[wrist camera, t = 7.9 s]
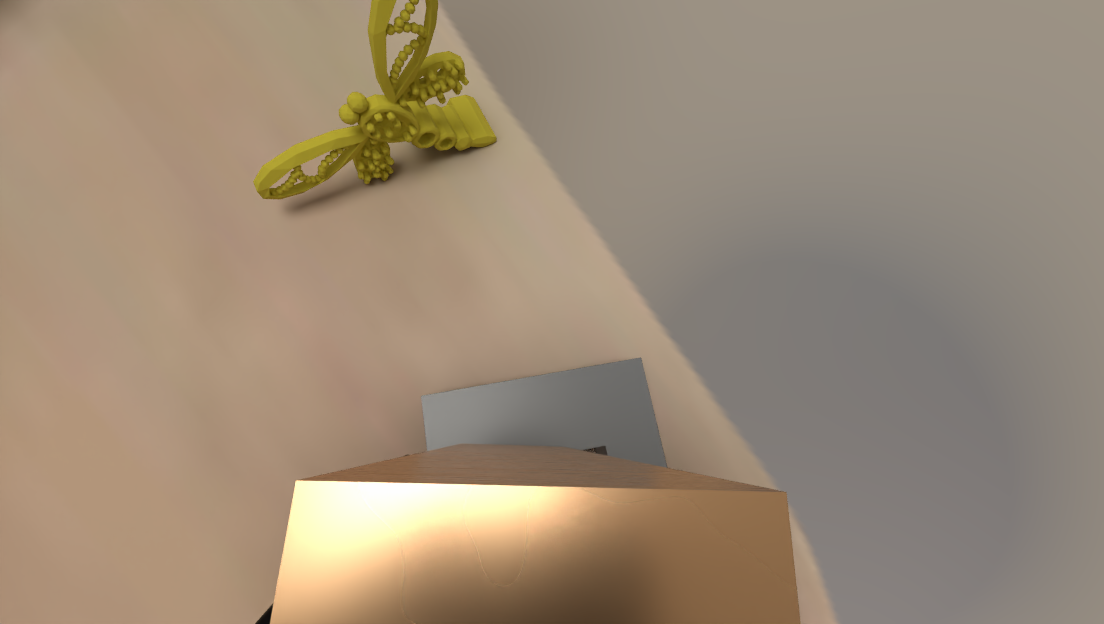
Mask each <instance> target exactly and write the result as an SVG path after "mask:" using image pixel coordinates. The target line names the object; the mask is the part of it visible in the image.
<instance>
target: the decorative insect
mask: <svg viewBox="0 0 1104 624" xmlns="http://www.w3.org/2000/svg"><path fill="white" fill-rule="evenodd" d="M409 1H410V2H411V3H406V4H405V10H402V11H401V12H400V17H396V18H395V20H394V22H395V23H394V26H393V25H392V24H388V22H389V20H390V17H391V14H392V11H393V8H394V5H395V2H396V0H372V2H371V10H370V18H369V25H368V35H369V41H370V46H371V52H372V58H373V63H374V69H375V74H376V78H377V81H378V83H379V85H380V87H381V89H382V91H383V93H384V94H385V95H376V94H375V95H373V96H371V97H368V98H366V97H365V96H364V95H362V94H361V93H358V92H352V93H351V94H350V95H349V96H348V98H347V104H344V105H343V106H342V107H341V108H340V109H339V116H340V118H341V120H342V121H343V122H345V123H346V124H350V125H353V124H355V123H357V122H358V125H357V126H352V127H347V128H342V129H338V130H333V131H330V132H328V133H325V134H322V135H320V136H317V137H314V138H312V139H309V140H306V141H304V142H301V143H298V144H296V145H294V146H292V147H291V148H289V149H288V150H286V151H285V152H283V153H281V154H280V155H278V156H277V157H275V158H274V159H272V160H271V161H269V162H268V163H266V164H265V165H263V166H262V168H261V169H260V171H259V173H258V174H257V176H256V178H255V179H254V181H253V182H254V185H255V187H256V190H257V192H258V193H259V194H260V196H261V197H262V198H263V199H283V198H286V197H290V196H293V195H297V194H300V193H303V192H305V191H307V190H309V189H311V188H313V187H315V186H317V185H318V184H320V183H322V182H324V181H326V180H328V179H329V178H330V177H331V176H333V175H334V174H335V173H336V172H337V171H339V170H340V169H341V168H342V167H343V166H344V165H346V164H347V163H348V162H349V161H350V160H352V159H353V161H354V164H355V167H356V169H357V172H358V178H359V179H364V183H365V184H369V183H370V181H371V178H380V177H381V179H382V180H383V181H386V180H387V177H388V176H389V174H392V173H393V170H392V168H391V167H390V166H389V165H393V164H394V160H393V159H392V158H391V157H390V147H389V145H388V143H395V142H403V141H406V142H412V144H413V145H415V146H416V147H418V148H428V147H431V146H433V145H434V147H435V148H436V149H437V150H448V149H450V148H451V147H453V146H455V148H456V149H458V150H459V151H461V150H464V149H467V148H469V147H470V146H471V147H485V146H488V145H490V144H492V143H494V142H496V136H495V134H494V133H493V131H492V129H491V127H490V125H489V124H488V122H487V120H486V118H485V117H484V115H483V113H482V111H481V110H480V108H479V106H478V104H477V103H476V101H475V99H474V98H473V97H470V96H467V95H463V96H459V97H454V98H450V99H449V101H448V103H447V105H446V106H444V107H442V108H441V107H439V106H437V105H435V104H432V105H427V106H425V102H426V101H427V100H428V99H430V98H432V97H435V96H437V98H438V100H439V102H440V103H442V104H443V103H445V102H446V99H445V97H444V95H443V93H445V92H448V91H450V90H451V89H453V91H454V92H455V93H456V94H460V92H461V90H462V85H461V84H460V82H459V80H460V81H461V82H462V83H463V84H464V85H467V84H468V83H469V81H468V80H467V78H466V77H465V76H464V75H465V68H464V62H463V60H462V59H461V57H460V56H458V55H456V54H454V53H452V52H450V51H447V52H441V53H435V54H432V55H430V56H428V57H426V55H427V53H428V50H429V46H430V43H431V40H432V36H433V33H434V30H435V26H436V20H437V10H438V0H425V1H426V14H425V21H424V27H423V26H422V25H418V24H416V23H415V22H413V23H409V22H408V21H409V20H410V14H413V13H414V11H415V6H414V5H417V4H418V2H419V0H409ZM403 20H404V21H406V22H404V21H403ZM403 31H404V32H407V33H408V32H410V31H411V32H412V33H415V34H416V33H417V34H418V35H419V36H418V37H417V40H415V39H414V40H411V42H410V45H405V46H404V51H400V52H399V54H398V56H399V57H397V58H396V59H395V64H393V65H392V69H393V70H391V72H390V75H391V76H388V74H387V60H386V36H387V34H389V35H393V34H394V33H395V32H397V33H399V34H400V33H402V32H403ZM412 48H413V49H414V50H415V51H414V54H413V56H412V58H411V60H410V61H409V63H408V64H407V66H406V67H405V69H404V70H403V72H402V73H401V75H400V77H399V73H400V72H401V67H403V65H404V61H406V60H407V59H408V55H411V54H412V52H413V49H412ZM425 57H426V58H425ZM440 68H441V69H440ZM438 69H440V70H439V71H438V72H437V70H438ZM422 76H424V78H421V77H422ZM398 77H399V78H398ZM397 78H398V79H397ZM420 78H421V79H420ZM387 142H388V143H387ZM343 149H345V150H343ZM331 150H333V151H331ZM329 151H331V152H330V155H327V156H326V157H325V160H322V161H321V165H319V166H318V175H315V176H310V177H309V176H308V175H307V176H306V175H305V174H303V171H302V170H301V164H303V163H305V162H307V161H309V160H312V159H314V158H316V157H318V156H320V155H322V154H324V153H326V152H329ZM338 154H341V155H340V156H339V157H338ZM337 157H338V158H337ZM333 158H337V160H336V161H334V162H333ZM332 162H333V163H332ZM329 163H332V164H331V165H329ZM292 168H293V169H294V171H292V172H291V174H290V175H291V176H290V177H289V178H288V180H287V181H285V183H283V184H281V186H278V187H277V188H270V187H271V186H272V185H273V184H274V183H276V182H277V181H278V180H279V179H280V178H282V177H283V176H284V175H285V174H286V173H288V172H289V171H290V170H291V169H292ZM387 172H388V173H389V174H388V173H387ZM297 178H298V179H299V180H301V181H303V182H301V183H298V184H296V185H294V183H296V182H297Z"/></svg>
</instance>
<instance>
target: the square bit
mask: <svg viewBox="0 0 1104 624" xmlns="http://www.w3.org/2000/svg"><path fill="white" fill-rule="evenodd" d="M270 624H801V623H800V614H799V605H798V596H797V586H796V577H795V568H794V559H793V549H792V540H791V531H790V521H789V512H788V503H787V494H786V492H783V491H778V490H773V489H768V488H764V487H759V486H754V485H749V484H744V483H739V482H734V481H729V480H724V479H719V478H715V477H710V476H705V475H700V474H695V473H690V472H685V471H680V470H675V469H670V468H665V467H661V466H656V465H651V464H646V463H641V462H636V461H631V460H626V459H621V458H616V457H611V456H607V455H602V454H597V453H592V452H587V451H582V450H577V449H572V448H567V447H556V446H526V445H495V444H465V443H461V444H457V445H453V446H448V447H444V448H439V449H435V450H430V451H426V452H421V453H417V454H412V455H408V456H403V457H399V458H395V459H390V460H386V461H381V462H377V463H372V464H368V465H363V466H359V467H354V468H350V469H346V470H341V471H337V472H332V473H328V474H323V475H319V476H314V477H310V478H305V479H301V480H296V485H295V490H294V495H293V501H292V506H291V512H290V517H289V523H288V528H287V533H286V539H285V544H284V550H283V555H282V561H281V566H280V571H279V577H278V582H277V588H276V593H275V599H274V604H273V609H272V615H271V620H270Z"/></svg>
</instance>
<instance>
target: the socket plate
mask: <svg viewBox="0 0 1104 624" xmlns="http://www.w3.org/2000/svg"><path fill="white" fill-rule="evenodd" d="M421 399H422V408H423V417H424V426H425V435H426V445H427V451H430V450H435V449H439V448H444V447H448V446H453V445H457V444H461V443H465V444H495V445H526V446H556V447H567V448H572V449H577V450H586V449H591V448H595V451H596V453H597V454H602V455H607V456H611V457H616V458H621V459H626V460H631V461H636V462H641V463H646V464H651V465H656V466H661V467H665V468H667V465H666V461H665V456H664V452H663V448H662V444H661V440H660V435H659V431H658V427H657V423H656V418H655V414H654V410H653V406H652V402H651V397H650V393H649V389H648V385H647V381H646V376H645V372H644V368H643V364H642V360H641V358H636V359H630V360H624V361H619V362H613V363H607V364H602V365H596V366H590V367H584V368H579V369H573V370H567V371H561V372H556V373H550V374H544V375H539V376H533V377H527V378H521V379H516V380H510V381H504V382H498V383H493V384H487V385H481V386H475V387H470V388H464V389H458V390H453V391H447V392H441V393H435V394H430V395H424V396H421Z"/></svg>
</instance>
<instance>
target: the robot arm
mask: <svg viewBox="0 0 1104 624" xmlns="http://www.w3.org/2000/svg"><path fill="white" fill-rule="evenodd" d="M405 456H408V455H405ZM273 604H274V603H273ZM273 604H272V605H271V606H270V607H269V609H268V610H267V611H266V612H265V613H264V614H263V615H262V617H261V618H260V619H259V620H258V621H257V622H256V623H255V624H270V620H271V615H272V609H273Z"/></svg>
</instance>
